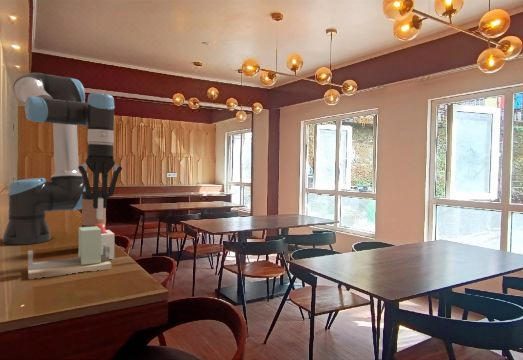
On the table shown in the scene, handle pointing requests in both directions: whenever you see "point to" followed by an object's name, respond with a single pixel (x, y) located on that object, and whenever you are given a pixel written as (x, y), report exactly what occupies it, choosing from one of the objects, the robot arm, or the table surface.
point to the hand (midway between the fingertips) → (99, 218)
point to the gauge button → (101, 227)
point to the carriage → (89, 245)
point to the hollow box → (108, 242)
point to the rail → (65, 265)
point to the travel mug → (91, 211)
